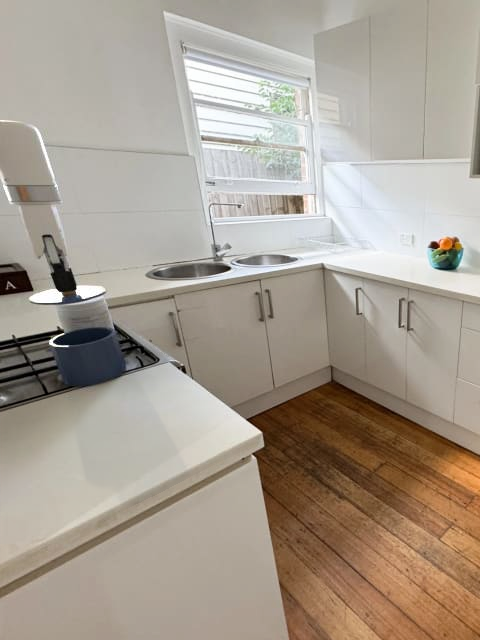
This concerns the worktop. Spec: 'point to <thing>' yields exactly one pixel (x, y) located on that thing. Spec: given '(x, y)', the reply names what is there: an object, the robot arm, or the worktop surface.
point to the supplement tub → (84, 314)
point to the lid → (67, 296)
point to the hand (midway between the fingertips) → (67, 288)
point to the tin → (88, 356)
